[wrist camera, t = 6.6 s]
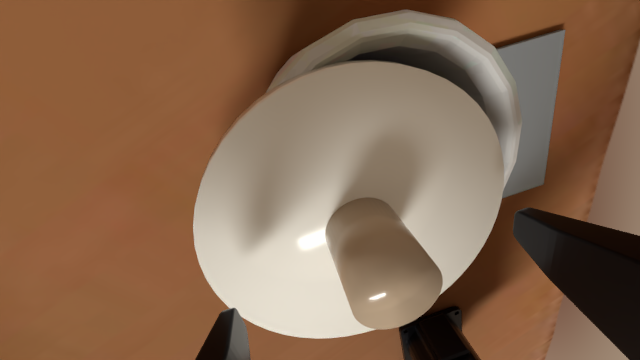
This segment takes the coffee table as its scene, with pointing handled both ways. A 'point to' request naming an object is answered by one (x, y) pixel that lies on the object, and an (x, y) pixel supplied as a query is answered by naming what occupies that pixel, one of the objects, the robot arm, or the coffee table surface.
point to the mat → (533, 104)
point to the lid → (348, 199)
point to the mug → (425, 63)
